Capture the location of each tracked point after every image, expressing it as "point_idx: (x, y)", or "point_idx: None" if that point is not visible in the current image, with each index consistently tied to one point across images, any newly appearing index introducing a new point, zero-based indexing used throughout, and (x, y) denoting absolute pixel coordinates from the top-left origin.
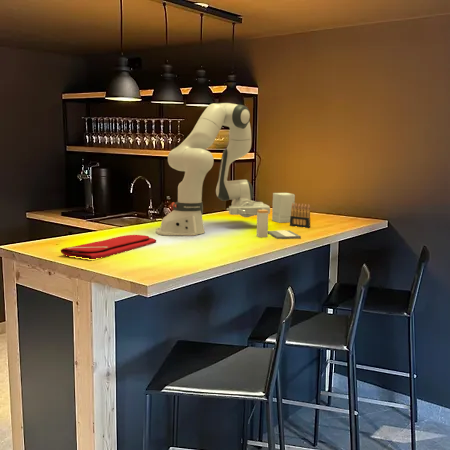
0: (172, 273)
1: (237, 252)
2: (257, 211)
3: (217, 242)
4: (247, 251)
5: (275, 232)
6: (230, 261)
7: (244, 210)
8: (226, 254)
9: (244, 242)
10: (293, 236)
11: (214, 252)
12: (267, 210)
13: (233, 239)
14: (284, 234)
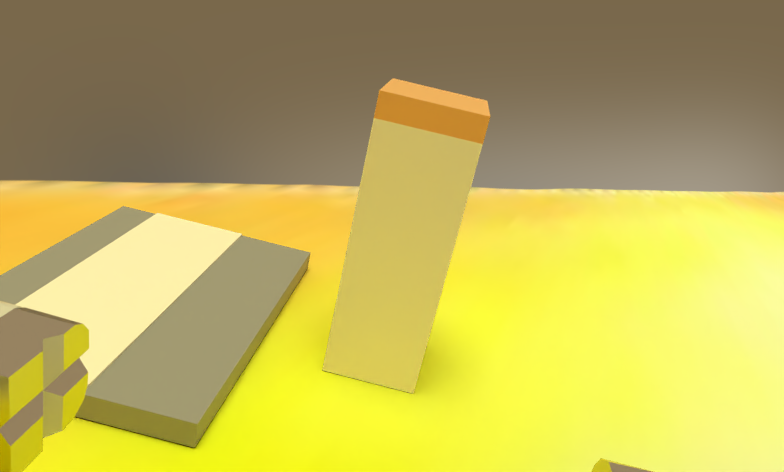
0: (779, 203)
1: (623, 223)
2: (484, 134)
3: (760, 348)
4: (580, 217)
5: (182, 337)
6: (645, 194)
7: (632, 469)
8: (666, 225)
9: (575, 293)
10: (180, 221)
11: (721, 250)
12: (391, 81)
13: (654, 367)
14: (192, 261)
